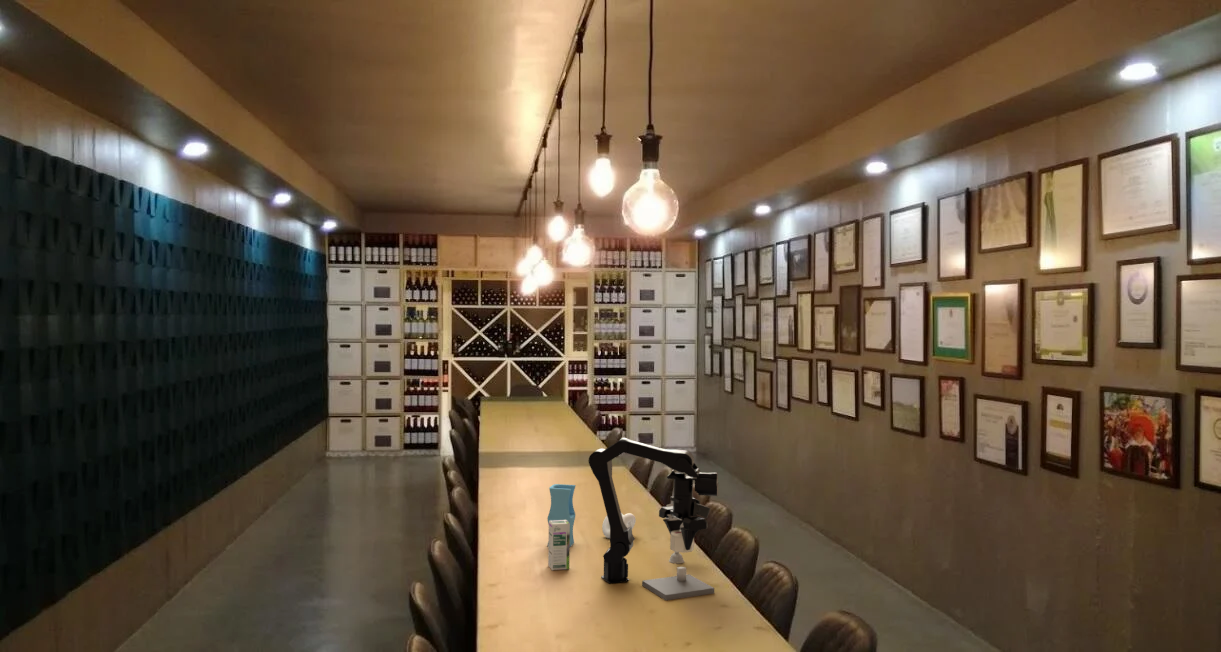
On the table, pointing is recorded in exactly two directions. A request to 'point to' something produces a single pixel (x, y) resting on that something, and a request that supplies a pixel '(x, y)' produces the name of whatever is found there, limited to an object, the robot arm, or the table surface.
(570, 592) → the table surface
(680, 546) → the knob
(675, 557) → the chalice
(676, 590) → the board
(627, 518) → the white rounded lump
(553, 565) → the syrup box
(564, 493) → the vase
